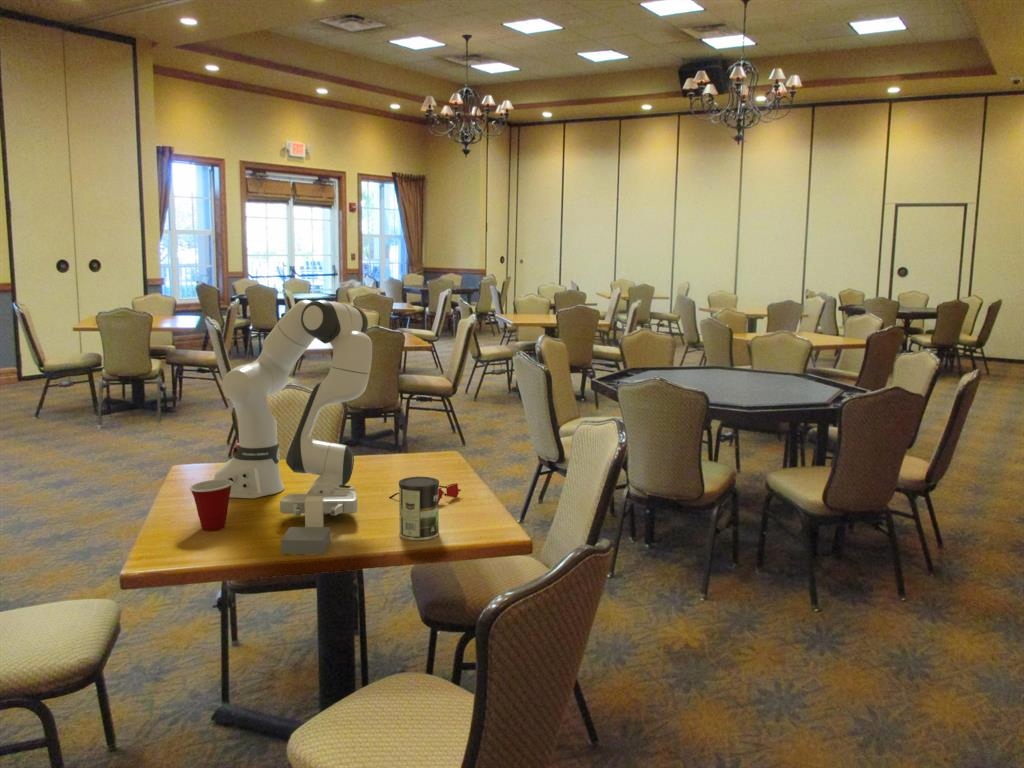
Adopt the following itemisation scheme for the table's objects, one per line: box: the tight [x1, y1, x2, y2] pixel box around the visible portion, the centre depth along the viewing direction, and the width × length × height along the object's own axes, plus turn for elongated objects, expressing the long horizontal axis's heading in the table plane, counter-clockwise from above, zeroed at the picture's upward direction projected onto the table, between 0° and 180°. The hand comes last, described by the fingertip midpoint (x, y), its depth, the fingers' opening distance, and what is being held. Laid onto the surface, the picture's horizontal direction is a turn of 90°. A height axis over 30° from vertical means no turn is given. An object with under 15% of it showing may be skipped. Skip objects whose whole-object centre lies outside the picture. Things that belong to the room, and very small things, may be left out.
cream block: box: [304, 496, 325, 527], centre depth 222 cm, size 4×4×9 cm
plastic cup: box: [188, 479, 233, 532], centre depth 224 cm, size 11×11×12 cm
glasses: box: [388, 483, 462, 502], centre depth 256 cm, size 14×16×5 cm
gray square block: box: [280, 526, 331, 556], centre depth 211 cm, size 10×10×4 cm
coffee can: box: [398, 476, 440, 541], centre depth 222 cm, size 10×10×14 cm
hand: (315, 512), depth 223 cm, fingers open, 8 cm apart
